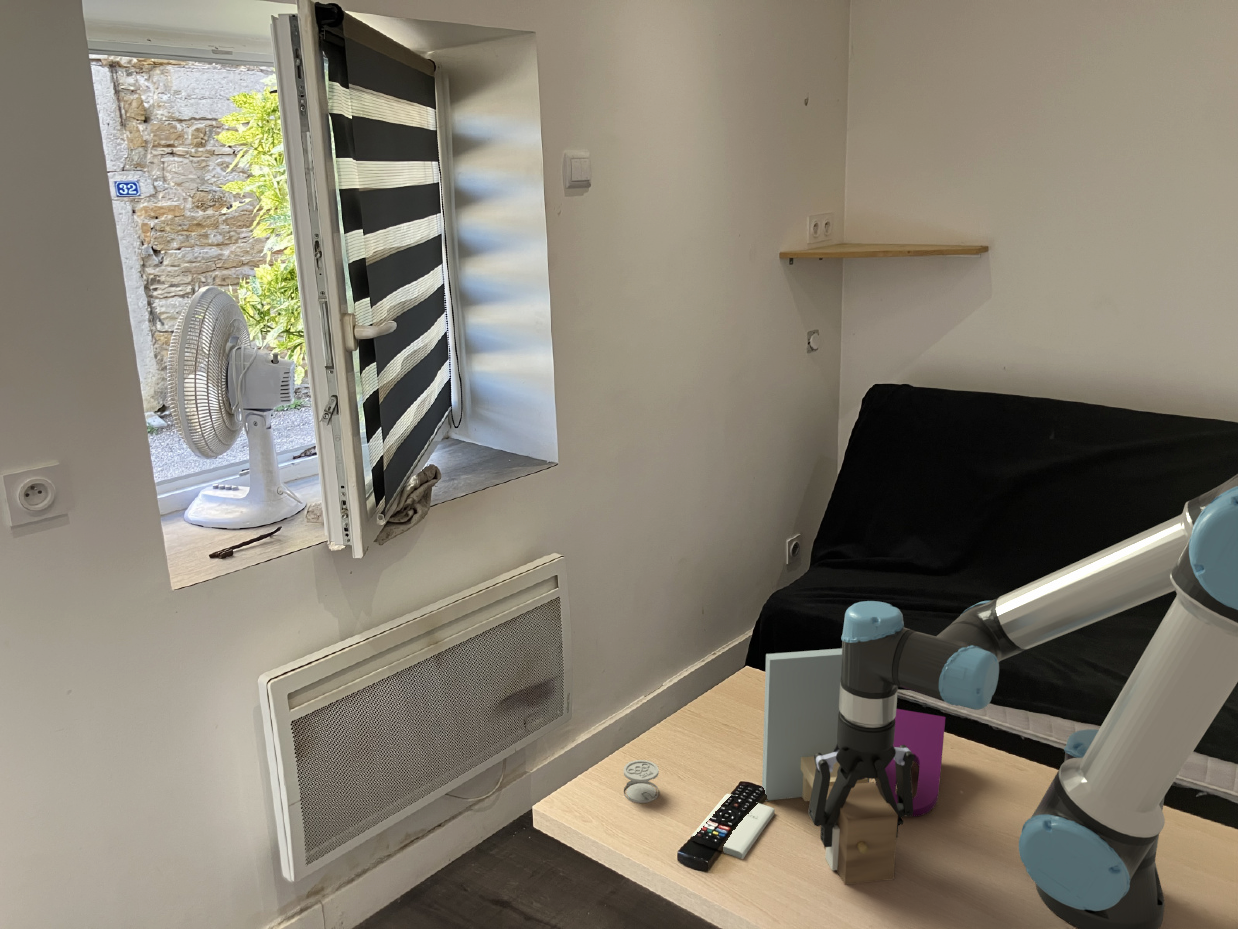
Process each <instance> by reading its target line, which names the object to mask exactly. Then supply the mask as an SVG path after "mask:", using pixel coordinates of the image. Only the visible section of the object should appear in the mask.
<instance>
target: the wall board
mask: <svg viewBox="0 0 1238 929" xmlns="http://www.w3.org/2000/svg"><path fill="white" fill-rule="evenodd" d="M841 664H842V647H840V648H832V649H831V648H829V649H819V650H804V651H803V650H802V651H791V652H790V651H789V652H775V653H766V654H765V679H764V680H765V681H764V706H763V707H764V710H763V713H764V714H763V715H764V717H763V742H762V743H763V744H762V745H763V746H762V747H763V748H762V772H761V774H762V775H761V776H762V780H761V782H762V783H761V788H762V787H763V788H764V790H765V794H766V795H767V799H768V800H767V801H774V800H785V799H786V798H787V799H796V798H802V799H803V801H804V802H810V799H811V793H812V788H813V782H814V776H815V771H816V765H815V760H814V755H815V754H816V753H821V754H822V755H826V754H830V753H833V751H834V749H835V747H836V745H837V728H838V714H839V712H840V710H839V695H840V680H841ZM839 766H840V764H839V763H838V762H836V763H835V764H834V766H833V772H830V784H829V786H833V785H834V782H835V780H836V778H837V771H838V769H839ZM868 782H870V779H869V778H865V779H862V780H857V782H856V784H858V783H868Z"/></svg>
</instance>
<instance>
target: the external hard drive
mask: <svg viewBox="0 0 1238 929" xmlns="http://www.w3.org/2000/svg"><path fill="white" fill-rule="evenodd" d="M731 795H732V794H731V793H726V794H724V796H723V798H721V799H720V801H719V802H718V803H717V804H716V805H715V807H714V808H713V809H712V810H711V812H710V813H709V814H708V815H707V817H706V818H705V819H703V821H702V823H701V824H700V825H699V826H698V827H697V829H696V830H695V831H694V832H693V833H692V834H691V836H690V838H691V837H693V836H695V835H696V834H697V832H699V831H700V830H701V828H703V826H704V825H706V822H707V821H708V820H709V819H710V818H712V816H713V814H715V811H717V810H718V809H719V808H720V807H721V805H722V804H723V803H724V802H725V801H726V800H727V799H728V798H729V797H730V796H731ZM757 803H758V804H757V805H756V806H755V807H754V808H753V809H752V810H751V811H750V812H749V814H747V815H746V816H745V817H744V818H743V820H742V821H741V822H740V823H739V824H738V826H737V827H736V829H735V830H733V831H732V834H731V835H730V837H729V838H728V840H727V841H726V843H725V844H724V846H723V851H724V854H727V855H730V856H732V857H734V858H738V859H740V860H741V859H742V860H743V859H744V858H745V856H746V855H747V854H748V852H749V851H750V849H751V848H752V846H753V845H754V844H755V843H756V841H757V839H758V838H759V837H760V835H761V833H762V832H763V831H764V830H765V827H767V826H768V824H769V823H770V821H771V820H772V818H773V817H774V815H775V811H776V809H775V808H773V807H772V806H769V805H766V804H763V803H760V802H757Z"/></svg>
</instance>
